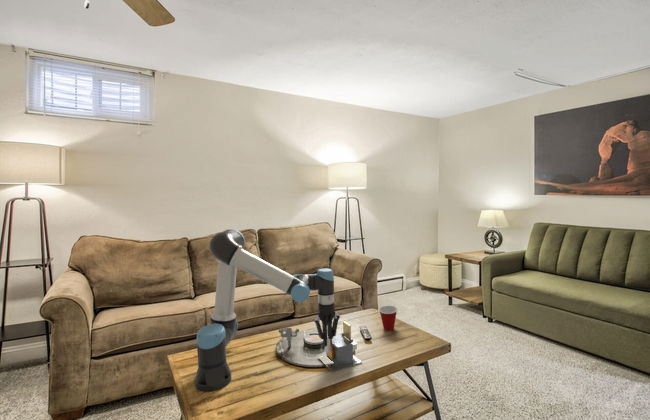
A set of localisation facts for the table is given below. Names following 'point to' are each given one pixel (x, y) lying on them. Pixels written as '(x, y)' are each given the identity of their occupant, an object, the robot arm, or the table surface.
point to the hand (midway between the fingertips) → (328, 351)
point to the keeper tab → (346, 330)
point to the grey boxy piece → (342, 353)
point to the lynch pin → (333, 350)
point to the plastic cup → (388, 317)
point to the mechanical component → (288, 334)
